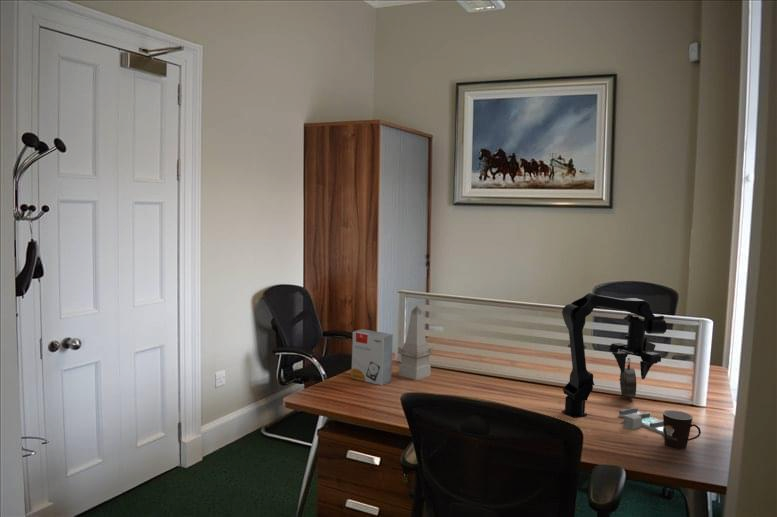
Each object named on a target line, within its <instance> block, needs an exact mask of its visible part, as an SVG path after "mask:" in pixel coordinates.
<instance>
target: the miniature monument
mask: <svg viewBox="0 0 777 517" xmlns="http://www.w3.org/2000/svg"><path fill="white" fill-rule="evenodd" d="M407 327H408V328H407V333H406V338H405V339H406V340H405V342H404V343H403V345H402V347H399V346H398V347H397V350H398V351H397V353H398V354H399V355H401V360H400V364H399V365H398V376H400V377H405V378H407V379H411V380H415V381H418V380H421V379H424V378H427V377H429V376H431V372H432V371H431V369H432V367H431V366H432V365H431V364H430V355H432V354H434V347H429V346H428V343H427V339H426V332H425V324H424V316H423V310H422V309H420V307H419V306H415V307H414V308H413V309H412V310H411V311H410V317H409V323H408V326H407Z"/></svg>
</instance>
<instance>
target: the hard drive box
mask: <svg viewBox="0 0 777 517" xmlns="http://www.w3.org/2000/svg"><path fill="white" fill-rule="evenodd" d="M351 334H352V337H351V338H352V339H351V340H352V341H351V366H350V367H351V371H350V372H351V374H350V378H351V379H354V380H357V381H361V382H366V383H370V384H373V385H379V386H384V385H385V384H388V383H390V382H392V367H393V366H392V363H393V361H392V360H393V336H394V335H393V334H391V333H387V332H382V331H381V332H380V331H376V330H369V329H364V328H361V329H358V330H354V331H352V333H351Z"/></svg>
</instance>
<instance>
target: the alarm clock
mask: <svg viewBox="0 0 777 517" xmlns="http://www.w3.org/2000/svg"><path fill="white" fill-rule="evenodd" d="M627 361H628V363H627V367H625V370H624V373H622V372H621V371H620V374H619V386H620V387H619V388H620V394H621V396H619V398H622V397H625V398H629V400H630V401H629V402H630V403H632V402H633V401H632V400H633V398H635V397H636V395H637V377H636V376H637V374H636V371H635V368H633V367H631V358H630V357H628V359H627Z"/></svg>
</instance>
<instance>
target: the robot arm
mask: <svg viewBox="0 0 777 517" xmlns="http://www.w3.org/2000/svg"><path fill="white" fill-rule="evenodd" d="M596 307H602V308H603V307H604V308H609V309H610V308H611V309H614V310H615V309H616V310H621V311H625V312H627V313H628V314H627V315H626V316H625V317H623V321H625V322H628V328H627V334H626V335H625V336H624V339H627V340H626V343H623V342H615V343H611V344H610V346H609V352H611V354H612V355H613V356H614V358H615V360H616V363H617V365H618V368H619V370H620V373H621V372H622V373H624V370H625V368H626V360H627V357H628V356H629V355H633V356H636V357H639V358H640V359H641V360H640V362H639V363H640V364H639V365H640V377H641V380H645V379H646V377H647V375H648V372H649V371H650V369H651V367H652V366H653V365H655V364H658V363H661V362H662V355H661V354H660V353H658V352H655V348H656V344H655V343H652V342H650V341H648V337H647V336H646V335H645V334H651V335H658V334H659V335H661V334H665V333H666V332H667V329H668V325H667V322H666V320H665V315H663V314H656V315H654V312H653V311H652V309H651V305H650V303H649V301H647V300H644V299H641V298H640V299H639V298H636V297H626V298H619V297H618V298H617V297H611V296H608V295H607V296H606V295H600V294H596V293H592V292H589V293H586V294H585V295H584V296H583V297H580V298H578V299H576V300H574V301H573V302H571V303H569V304H566V305H565V306H564V307H563V308H562V311H561V313H562V314H561V315H562V319H563V321H564V324H565V325H566V328H567V330H568V334H569V335H568V337H569V345H570V348H569V349H570V357H571V369H572V370H571V371H570V374H569V381H568V383H567V384H565V386H563V387H562V391H563V394H564V395H566V396H565V400H564V401H565V403H564V409H563V410H561V413H563V414H566V415H567V416H569V417H571V418H579V417H584V416H587V415H588V413H587V412H585V410H586V401H588V399H589V396H590V394H591V393H592V391H593V389H594V386H595V382H594V373H592V372H590V371H588V370H587V362H586V351H585V343H584V332H583V330H584V327H585V324H586V319H587V317H588V316H589V315H590V314H591V313H593V310H594V309H595V308H596ZM632 314H633V315H635V316H633V315H632ZM636 315H637V316H636Z"/></svg>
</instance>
